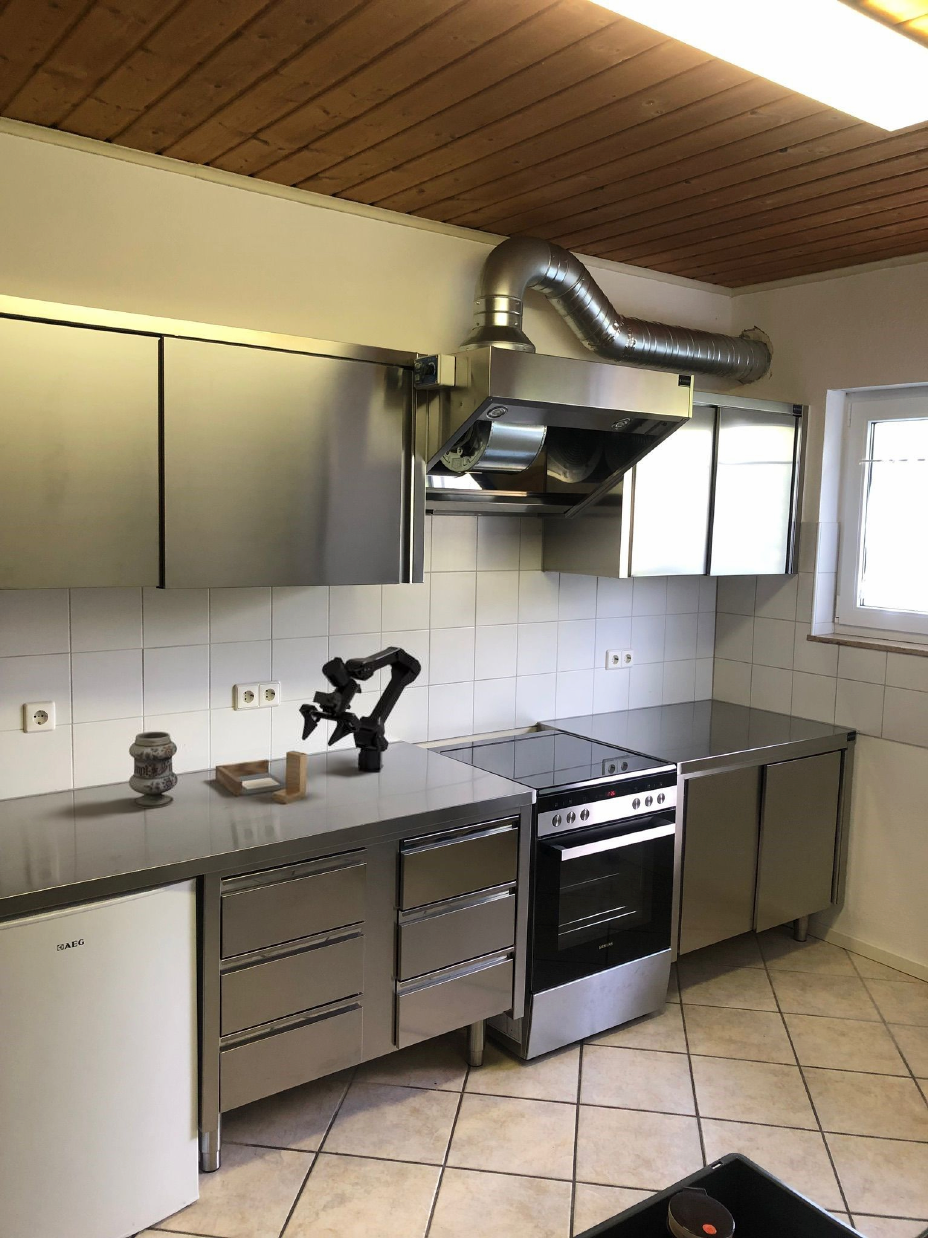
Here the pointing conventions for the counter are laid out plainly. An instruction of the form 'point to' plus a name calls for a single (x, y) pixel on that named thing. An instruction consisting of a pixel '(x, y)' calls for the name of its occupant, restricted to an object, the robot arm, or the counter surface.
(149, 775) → the apothecary jar
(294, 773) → the wooden l-shaped block
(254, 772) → the corner walls
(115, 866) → the counter surface
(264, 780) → the mat
